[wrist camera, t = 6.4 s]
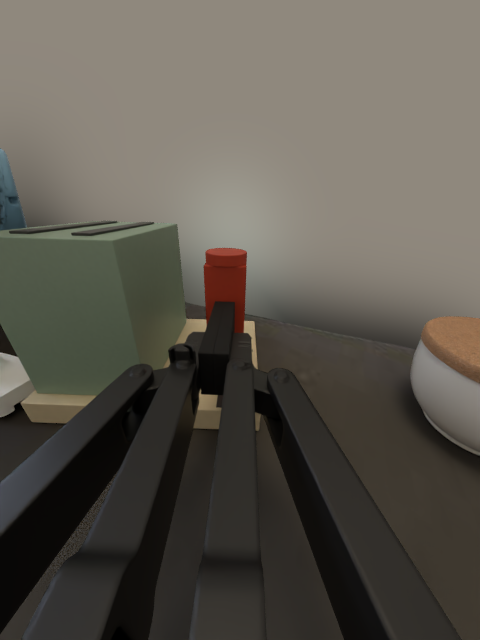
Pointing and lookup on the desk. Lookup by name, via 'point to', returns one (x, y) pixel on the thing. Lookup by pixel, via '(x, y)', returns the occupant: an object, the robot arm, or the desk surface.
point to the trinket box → (450, 378)
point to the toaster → (95, 310)
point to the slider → (226, 281)
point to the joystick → (12, 383)
